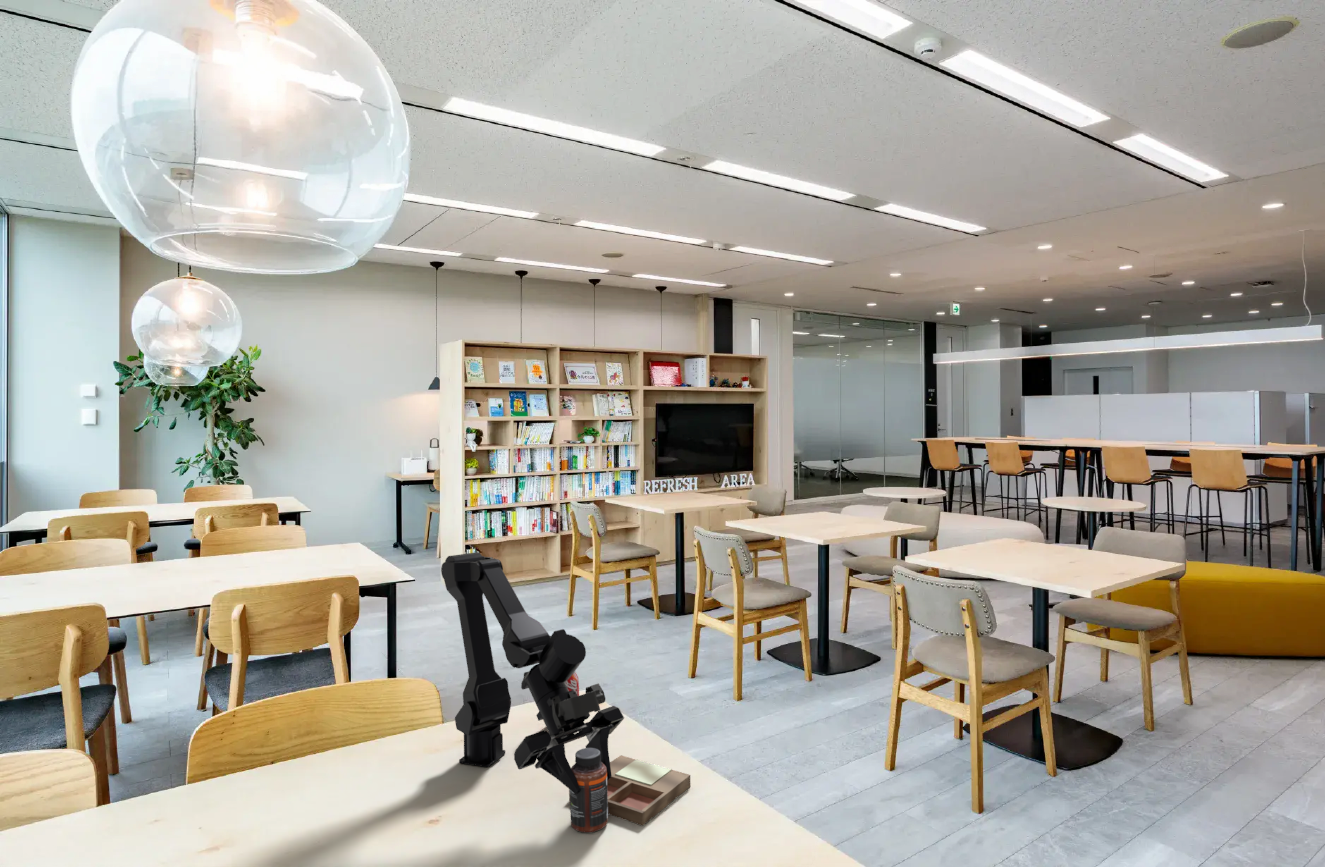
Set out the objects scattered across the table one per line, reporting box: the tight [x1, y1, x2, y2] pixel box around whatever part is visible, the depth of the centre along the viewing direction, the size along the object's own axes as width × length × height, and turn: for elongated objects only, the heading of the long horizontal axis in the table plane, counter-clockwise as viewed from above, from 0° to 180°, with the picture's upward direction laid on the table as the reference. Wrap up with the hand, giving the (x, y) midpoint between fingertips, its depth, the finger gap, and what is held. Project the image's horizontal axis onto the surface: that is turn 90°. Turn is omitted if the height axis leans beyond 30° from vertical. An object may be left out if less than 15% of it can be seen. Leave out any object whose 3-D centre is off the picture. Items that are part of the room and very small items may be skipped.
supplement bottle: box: [569, 747, 609, 833], centre depth 113 cm, size 6×6×11 cm
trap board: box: [568, 755, 691, 826], centre depth 122 cm, size 15×15×2 cm
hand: (594, 785), depth 112 cm, fingers closed on supplement bottle, 6 cm apart
